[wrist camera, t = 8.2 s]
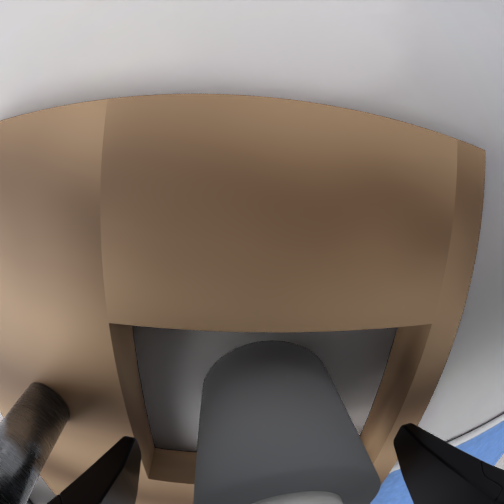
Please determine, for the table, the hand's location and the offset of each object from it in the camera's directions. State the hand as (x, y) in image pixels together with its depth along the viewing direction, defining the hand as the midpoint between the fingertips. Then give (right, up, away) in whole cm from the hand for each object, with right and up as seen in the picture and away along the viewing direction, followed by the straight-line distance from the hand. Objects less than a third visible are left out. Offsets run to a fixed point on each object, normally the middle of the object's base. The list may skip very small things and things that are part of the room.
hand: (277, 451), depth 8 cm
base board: (-3, +1, +3) cm, 4 cm away
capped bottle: (0, +1, +3) cm, 3 cm away
